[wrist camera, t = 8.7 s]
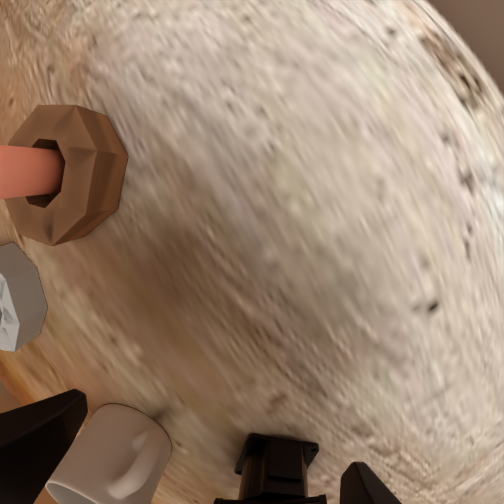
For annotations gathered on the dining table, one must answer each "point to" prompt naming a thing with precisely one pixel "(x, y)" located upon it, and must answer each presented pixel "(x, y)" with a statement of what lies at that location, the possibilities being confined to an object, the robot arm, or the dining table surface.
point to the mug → (112, 460)
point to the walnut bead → (70, 173)
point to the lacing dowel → (30, 171)
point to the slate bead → (19, 299)
